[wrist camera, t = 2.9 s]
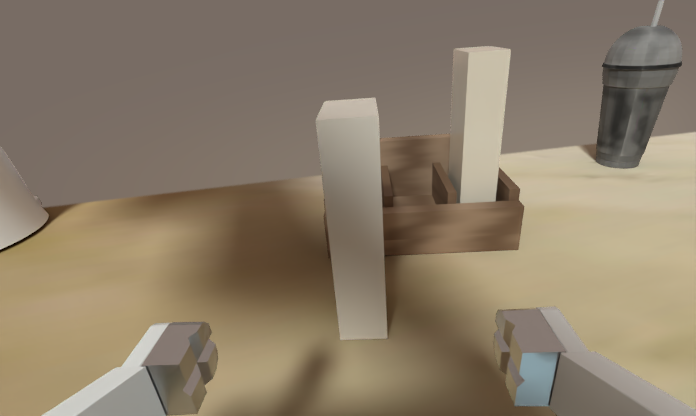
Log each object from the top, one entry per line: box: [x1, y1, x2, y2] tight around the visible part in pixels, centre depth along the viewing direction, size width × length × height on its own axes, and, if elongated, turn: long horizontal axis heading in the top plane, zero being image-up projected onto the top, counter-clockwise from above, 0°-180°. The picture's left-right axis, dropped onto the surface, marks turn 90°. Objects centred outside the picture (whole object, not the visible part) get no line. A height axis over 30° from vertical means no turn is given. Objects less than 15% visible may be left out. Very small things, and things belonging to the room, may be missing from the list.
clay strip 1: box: [316, 98, 388, 340], centre depth 23 cm, size 3×5×14 cm, turn 178°
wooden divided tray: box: [324, 134, 524, 258], centre depth 35 cm, size 16×10×8 cm, turn 88°
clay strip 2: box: [448, 46, 511, 204], centre depth 33 cm, size 3×5×14 cm, turn 178°
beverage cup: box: [596, 0, 682, 168], centre depth 43 cm, size 7×7×20 cm
